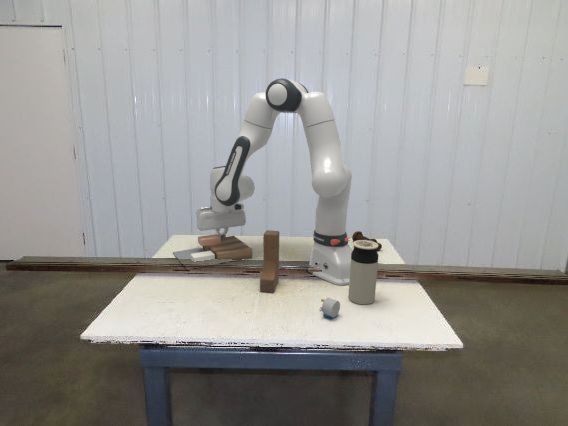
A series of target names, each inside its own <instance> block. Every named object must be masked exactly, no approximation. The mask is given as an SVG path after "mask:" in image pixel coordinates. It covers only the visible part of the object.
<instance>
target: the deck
mask: <svg viewBox="0 0 568 426" xmlns="http://www.w3.org/2000/svg"><path fill="white" fill-rule="evenodd" d="M202 249H204V250H205V251H211V252H212V253H213V254H215V259H218V260H221V259H232V260H239V261H243V260H242V259H245V260H250V259H253V248H252V247H250V246H249V245H247V244H246V243H245V242H243V241H242V240H241V239H240V238H237V237H236V236H235V235H228V236H226V238H221V243H220V244H213V245H206V246H202Z"/></svg>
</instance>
